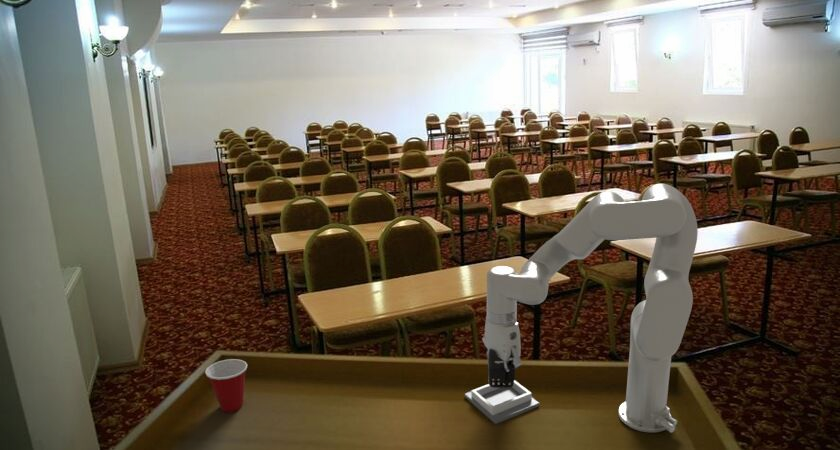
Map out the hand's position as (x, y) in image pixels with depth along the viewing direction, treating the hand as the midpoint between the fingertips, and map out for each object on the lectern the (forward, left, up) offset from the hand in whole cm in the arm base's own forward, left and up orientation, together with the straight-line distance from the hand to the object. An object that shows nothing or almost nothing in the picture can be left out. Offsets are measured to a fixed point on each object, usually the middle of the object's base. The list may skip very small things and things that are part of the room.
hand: (500, 375), depth 163 cm
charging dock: (0, 0, -8) cm, 8 cm away
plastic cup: (+38, +62, -8) cm, 73 cm away
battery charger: (0, 0, -3) cm, 3 cm away
